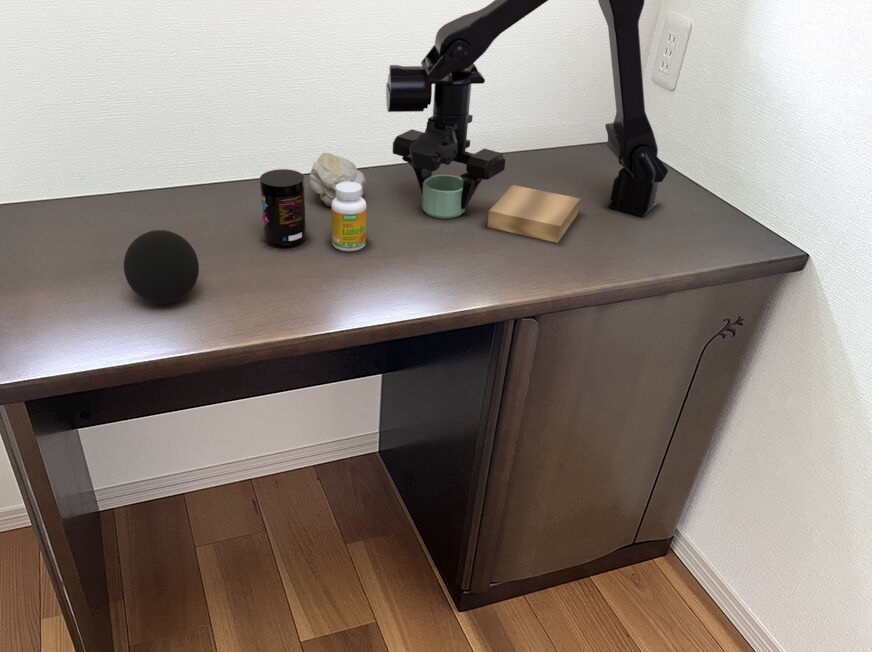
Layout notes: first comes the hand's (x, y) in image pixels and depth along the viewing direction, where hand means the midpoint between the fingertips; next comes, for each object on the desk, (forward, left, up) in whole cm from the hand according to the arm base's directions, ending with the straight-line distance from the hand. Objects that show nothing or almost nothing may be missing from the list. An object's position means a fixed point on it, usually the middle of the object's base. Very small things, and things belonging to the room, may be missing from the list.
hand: (444, 202), depth 136 cm
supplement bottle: (+5, +20, -2) cm, 21 cm away
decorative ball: (+15, +49, -2) cm, 51 cm away
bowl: (0, 0, -2) cm, 2 cm away
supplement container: (+14, +25, -2) cm, 29 cm away
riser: (-14, -6, -2) cm, 15 cm away
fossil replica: (+17, +8, -2) cm, 19 cm away
